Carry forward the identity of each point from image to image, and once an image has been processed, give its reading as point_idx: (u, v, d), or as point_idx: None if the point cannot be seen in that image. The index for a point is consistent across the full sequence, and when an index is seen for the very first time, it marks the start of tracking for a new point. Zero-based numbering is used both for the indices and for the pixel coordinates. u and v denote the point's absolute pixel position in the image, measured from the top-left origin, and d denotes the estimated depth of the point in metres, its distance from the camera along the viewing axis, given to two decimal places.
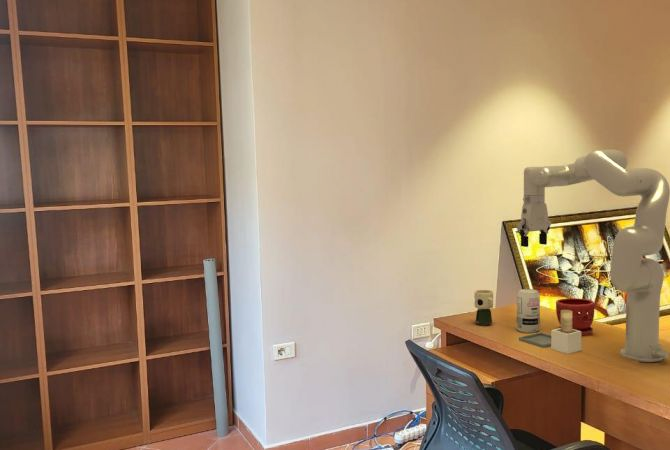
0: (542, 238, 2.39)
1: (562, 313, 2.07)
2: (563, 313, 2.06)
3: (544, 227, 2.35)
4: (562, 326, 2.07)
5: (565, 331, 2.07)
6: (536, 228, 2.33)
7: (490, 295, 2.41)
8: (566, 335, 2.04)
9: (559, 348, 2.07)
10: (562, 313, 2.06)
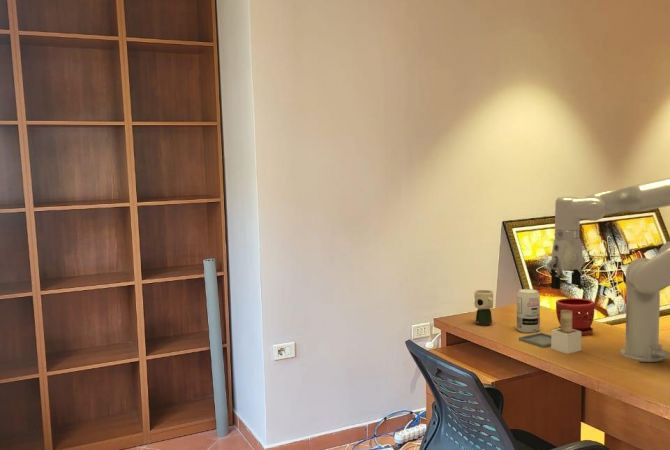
0: (575, 278, 2.08)
1: (562, 313, 2.07)
2: (563, 313, 2.06)
3: (578, 266, 2.05)
4: (562, 326, 2.07)
5: (565, 331, 2.06)
6: (570, 268, 2.03)
7: (490, 295, 2.41)
8: (566, 335, 2.04)
9: (559, 348, 2.07)
10: (562, 313, 2.06)
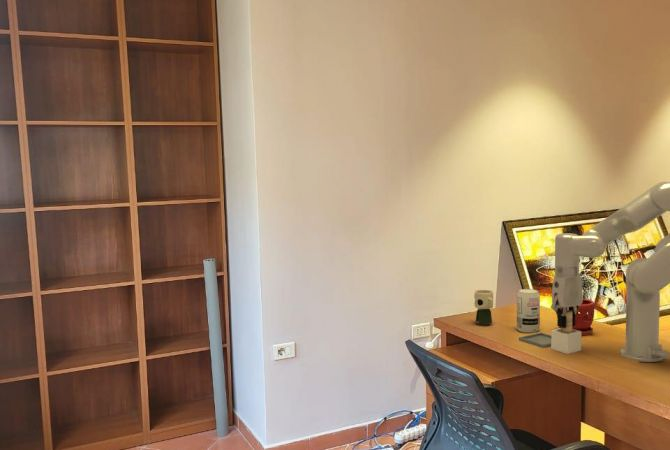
0: None
1: None
2: None
3: (578, 302, 2.06)
4: None
5: (565, 331, 2.06)
6: (570, 304, 2.04)
7: (490, 295, 2.41)
8: (566, 335, 2.04)
9: (559, 348, 2.07)
10: None
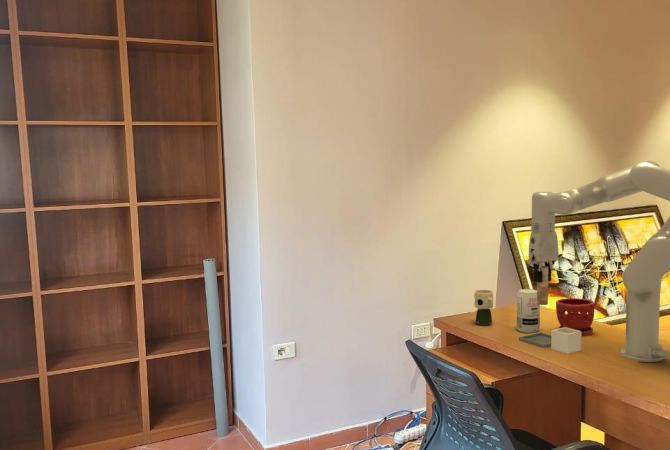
0: None
1: None
2: None
3: (554, 258, 2.15)
4: None
5: (541, 286, 2.15)
6: (546, 259, 2.13)
7: (490, 295, 2.41)
8: (566, 335, 2.04)
9: (559, 348, 2.07)
10: None
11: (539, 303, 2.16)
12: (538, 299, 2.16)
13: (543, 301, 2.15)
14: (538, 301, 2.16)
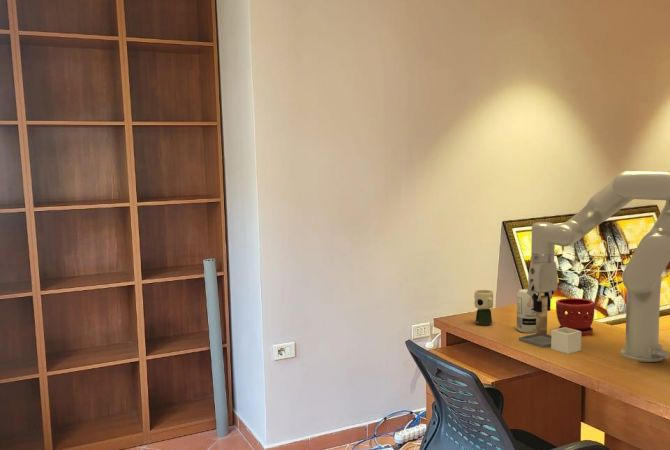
0: None
1: None
2: None
3: (553, 288, 2.16)
4: None
5: (540, 315, 2.16)
6: (545, 290, 2.14)
7: (490, 295, 2.41)
8: (566, 335, 2.04)
9: (559, 348, 2.07)
10: None
11: (538, 333, 2.17)
12: (537, 328, 2.18)
13: (542, 330, 2.17)
14: (537, 330, 2.18)
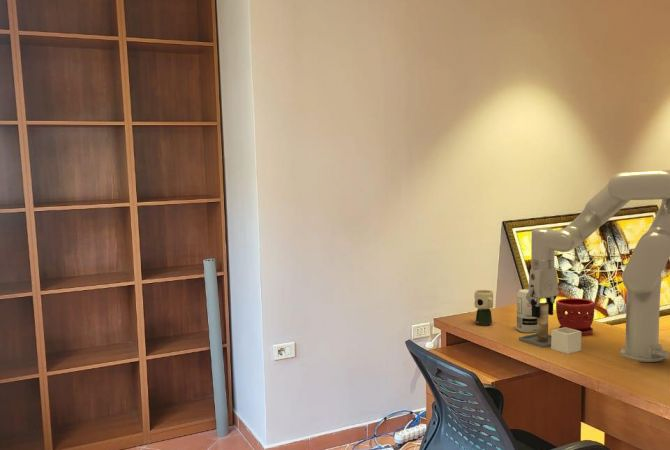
0: (548, 308, 2.19)
1: None
2: None
3: (554, 294, 2.16)
4: (538, 318, 2.17)
5: (541, 323, 2.16)
6: (545, 296, 2.14)
7: (490, 295, 2.41)
8: (566, 335, 2.04)
9: (559, 348, 2.07)
10: (539, 305, 2.16)
11: (539, 340, 2.18)
12: (538, 336, 2.18)
13: (543, 338, 2.17)
14: (538, 338, 2.18)
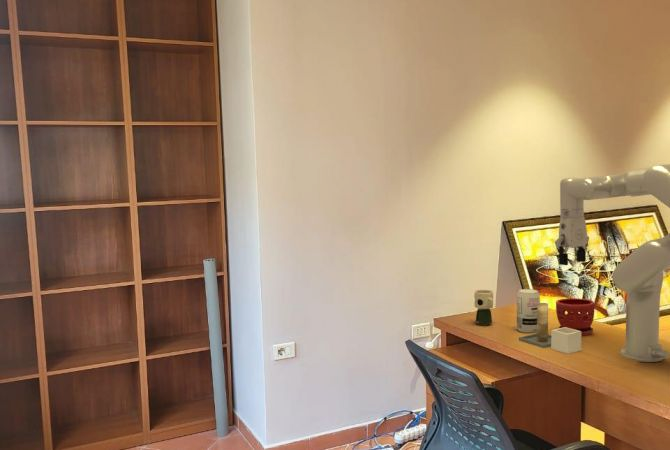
0: (580, 255, 2.21)
1: (538, 306, 2.17)
2: (539, 306, 2.16)
3: (583, 243, 2.17)
4: (538, 318, 2.17)
5: (541, 323, 2.16)
6: (576, 245, 2.15)
7: (490, 295, 2.41)
8: (566, 335, 2.04)
9: (559, 348, 2.07)
10: (539, 305, 2.16)
11: (539, 340, 2.18)
12: (538, 336, 2.18)
13: (543, 338, 2.17)
14: (538, 338, 2.18)
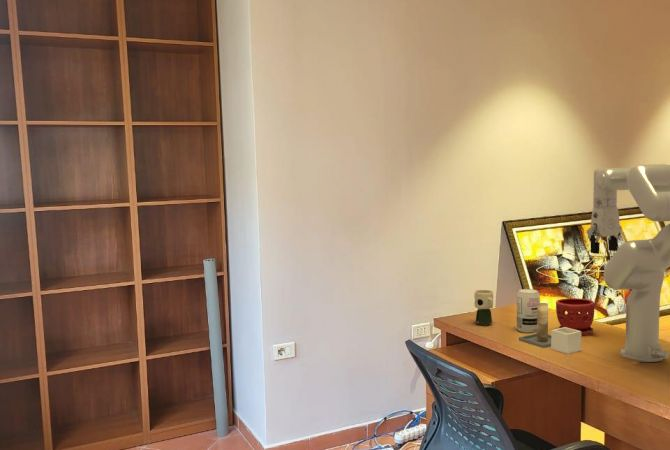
0: (612, 244, 2.24)
1: (538, 306, 2.17)
2: (539, 306, 2.16)
3: (616, 232, 2.20)
4: (538, 318, 2.17)
5: (541, 323, 2.16)
6: (608, 234, 2.18)
7: (490, 295, 2.41)
8: (566, 335, 2.04)
9: (559, 348, 2.07)
10: (539, 305, 2.16)
11: (539, 340, 2.18)
12: (538, 336, 2.18)
13: (543, 338, 2.17)
14: (538, 338, 2.18)
